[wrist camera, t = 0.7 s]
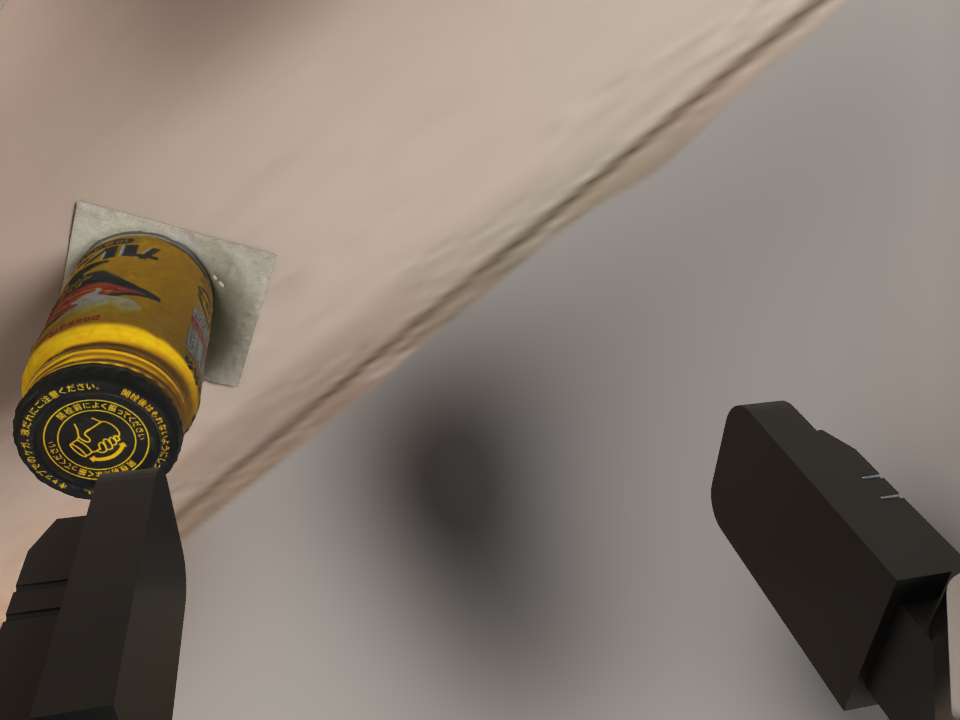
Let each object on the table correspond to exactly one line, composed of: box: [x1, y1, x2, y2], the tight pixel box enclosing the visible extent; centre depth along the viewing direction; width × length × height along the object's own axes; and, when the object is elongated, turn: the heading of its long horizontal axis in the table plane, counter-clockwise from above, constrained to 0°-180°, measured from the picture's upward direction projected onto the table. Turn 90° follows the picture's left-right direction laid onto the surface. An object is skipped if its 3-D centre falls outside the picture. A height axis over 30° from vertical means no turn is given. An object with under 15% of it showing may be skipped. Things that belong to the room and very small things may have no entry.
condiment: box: [13, 201, 277, 500], centre depth 32 cm, size 7×8×12 cm
